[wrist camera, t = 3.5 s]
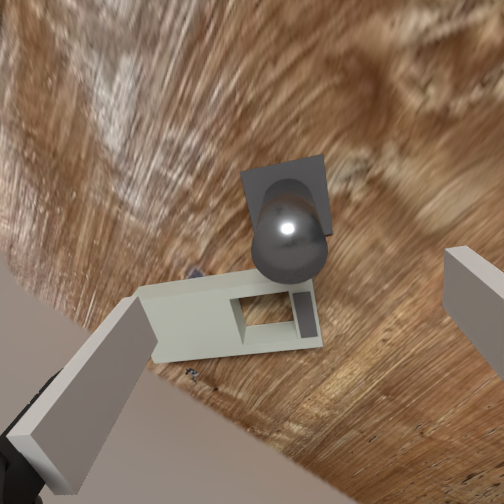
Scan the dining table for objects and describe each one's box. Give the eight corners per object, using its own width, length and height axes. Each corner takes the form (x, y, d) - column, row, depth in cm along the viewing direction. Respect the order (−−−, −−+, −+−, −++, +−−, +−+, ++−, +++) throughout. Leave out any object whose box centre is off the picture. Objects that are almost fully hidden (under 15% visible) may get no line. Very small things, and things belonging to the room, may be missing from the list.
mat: (240, 171, 26) (240, 172, 26) (322, 154, 25) (323, 154, 25) (257, 244, 29) (257, 246, 29) (332, 232, 28) (332, 233, 27)
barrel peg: (258, 184, 26) (243, 223, 17) (309, 173, 25) (322, 209, 16) (268, 231, 28) (259, 289, 19) (316, 222, 27) (332, 279, 18)
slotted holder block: (139, 286, 32) (125, 303, 29) (308, 260, 29) (311, 277, 26) (164, 344, 35) (153, 364, 33) (319, 326, 32) (323, 348, 29)
